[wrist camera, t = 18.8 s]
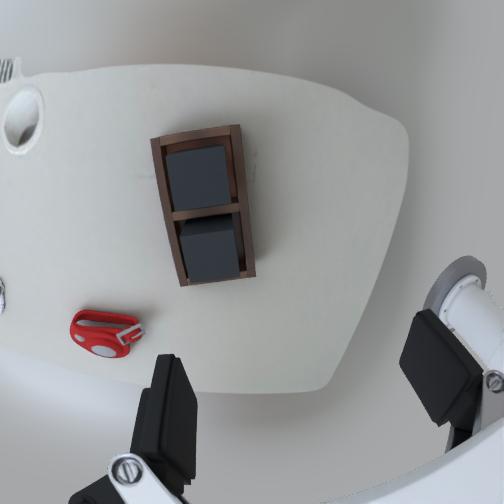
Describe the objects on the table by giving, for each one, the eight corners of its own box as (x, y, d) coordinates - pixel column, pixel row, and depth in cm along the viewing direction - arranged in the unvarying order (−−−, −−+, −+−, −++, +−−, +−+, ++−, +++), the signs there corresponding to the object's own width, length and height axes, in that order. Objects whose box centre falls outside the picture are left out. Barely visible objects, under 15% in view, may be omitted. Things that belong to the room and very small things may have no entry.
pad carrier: (237, 125, 26) (239, 124, 23) (252, 263, 33) (256, 276, 30) (157, 138, 25) (150, 139, 22) (183, 273, 32) (180, 286, 29)
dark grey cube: (231, 213, 29) (234, 228, 25) (237, 255, 31) (240, 276, 27) (185, 219, 29) (179, 236, 24) (193, 261, 31) (190, 283, 26)
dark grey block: (223, 144, 26) (224, 146, 21) (229, 191, 28) (231, 203, 23) (174, 151, 25) (165, 155, 21) (182, 198, 28) (175, 212, 23)
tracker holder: (122, 369, 37) (64, 349, 31) (124, 345, 40) (69, 325, 34) (151, 341, 31) (76, 315, 26) (153, 312, 34) (84, 285, 29)
